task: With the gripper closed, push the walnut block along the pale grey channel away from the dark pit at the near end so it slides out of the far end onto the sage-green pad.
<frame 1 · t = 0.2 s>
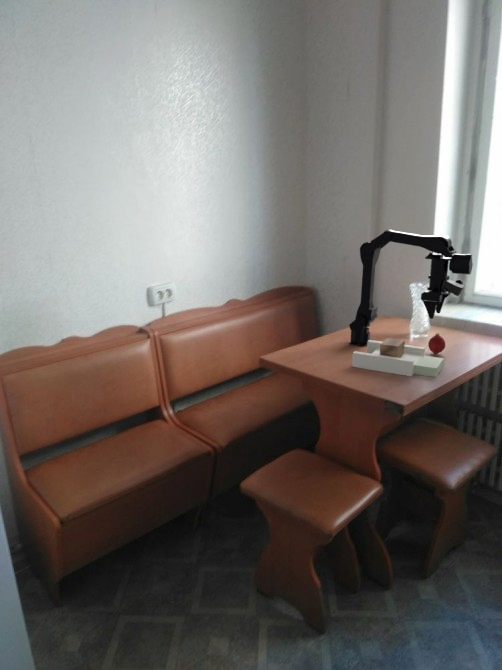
hand: (435, 315, 178), 14 cm above the table, fingers open, 9 cm apart
onion: (435, 354, 182), on the table
block: (391, 356, 172), point 3 cm above the table, touching track
pad: (428, 370, 166), on the table
track: (388, 363, 173), on the table
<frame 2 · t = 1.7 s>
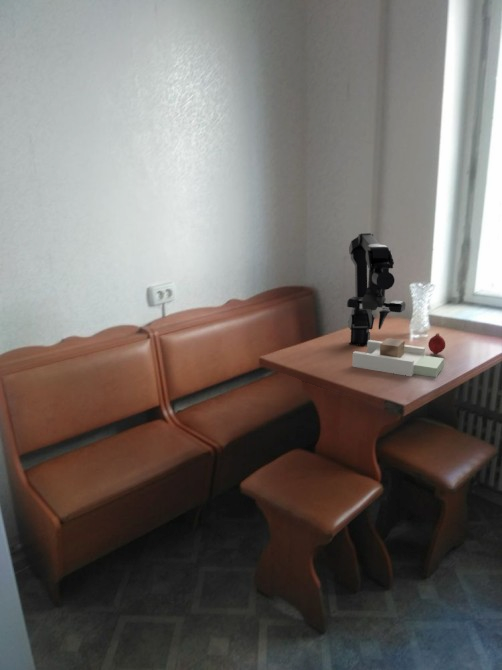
hand: (374, 328, 173), 12 cm above the table, fingers open, 3 cm apart
nothing on the table moved.
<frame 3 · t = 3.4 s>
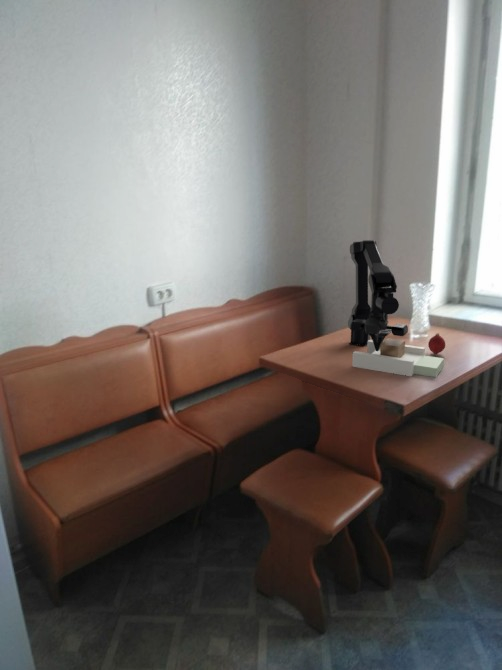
hand: (377, 350, 174), 4 cm above the table, fingers closed
block: (392, 356, 172), point 3 cm above the table, touching gripper
everything else where it was.
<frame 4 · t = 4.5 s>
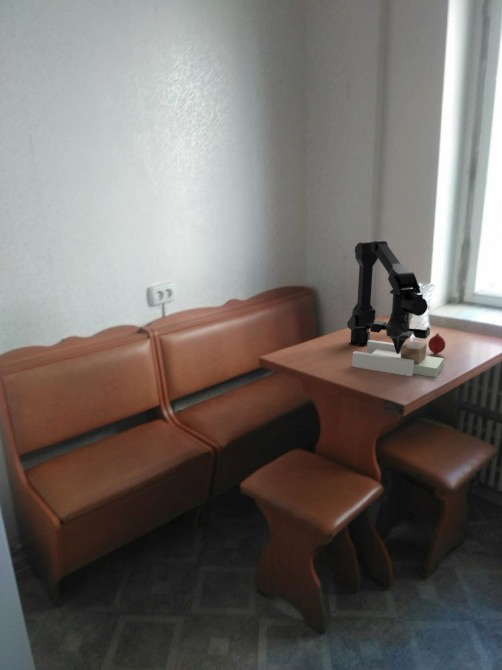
hand: (398, 353, 170), 4 cm above the table, fingers closed
block: (413, 359, 168), point 3 cm above the table, touching gripper
everything else where it was.
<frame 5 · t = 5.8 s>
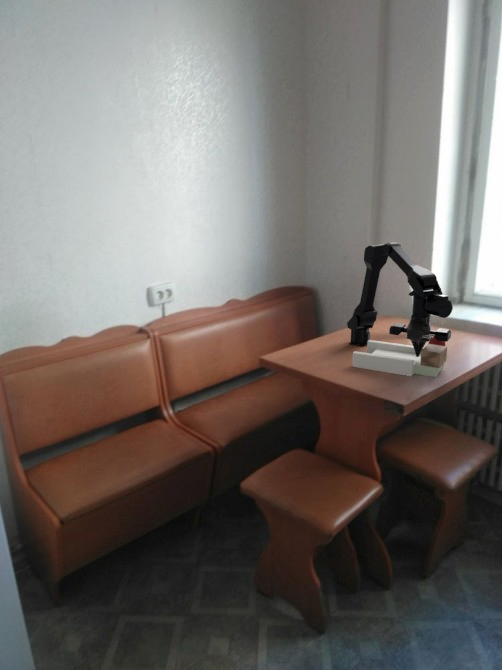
hand: (417, 356, 167), 4 cm above the table, fingers closed
block: (433, 362, 164), point 3 cm above the table, touching gripper, pad
everything else where it was.
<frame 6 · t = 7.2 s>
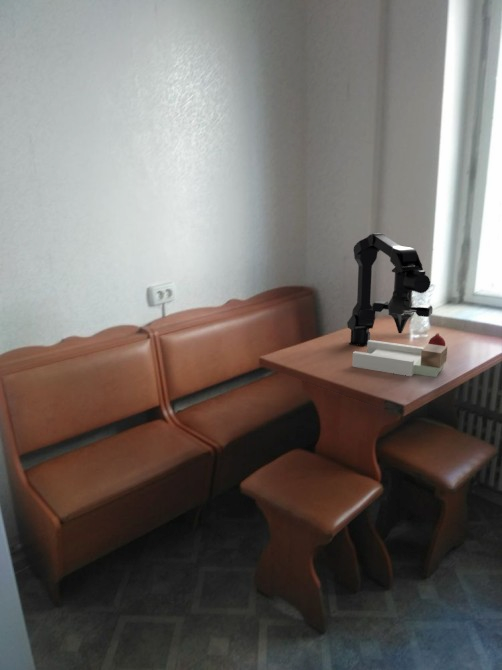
hand: (400, 333, 168), 12 cm above the table, fingers closed
block: (433, 362, 164), point 3 cm above the table, touching pad
everything else where it was.
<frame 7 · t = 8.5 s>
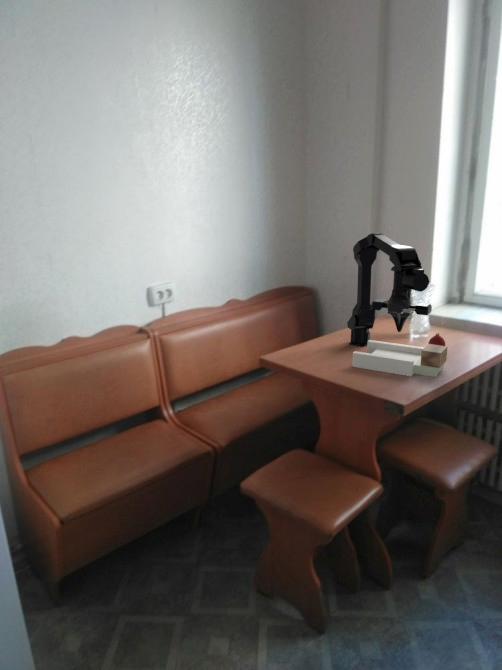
hand: (399, 331, 168), 12 cm above the table, fingers closed
nothing on the table moved.
at the end: block inside the target area (0.7 cm from its centre), point 3.0 cm above the table; block moved 13.9 cm from its start; block tilted 0° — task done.
